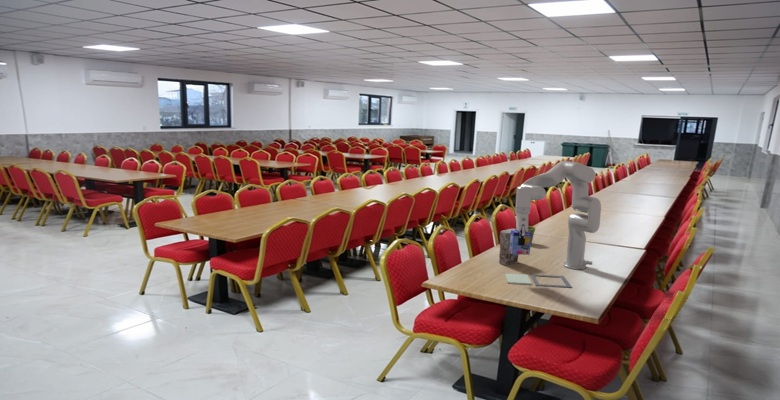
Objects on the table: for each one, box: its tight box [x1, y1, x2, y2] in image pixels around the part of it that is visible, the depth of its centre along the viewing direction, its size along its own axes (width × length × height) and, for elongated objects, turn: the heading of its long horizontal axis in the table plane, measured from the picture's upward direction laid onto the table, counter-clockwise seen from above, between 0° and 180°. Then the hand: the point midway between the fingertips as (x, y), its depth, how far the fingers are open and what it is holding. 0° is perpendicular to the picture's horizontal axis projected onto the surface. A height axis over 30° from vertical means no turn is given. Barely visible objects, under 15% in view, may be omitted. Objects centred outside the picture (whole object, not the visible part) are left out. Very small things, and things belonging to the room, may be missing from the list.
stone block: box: [498, 228, 519, 266], centre depth 282 cm, size 13×7×20 cm, turn 135°
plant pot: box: [528, 225, 537, 245], centre depth 330 cm, size 12×12×11 cm
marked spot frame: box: [529, 273, 573, 289], centre depth 253 cm, size 18×18×1 cm
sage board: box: [504, 273, 533, 286], centre depth 253 cm, size 12×14×1 cm
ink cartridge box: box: [509, 230, 532, 256], centre depth 250 cm, size 10×6×14 cm, turn 95°
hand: (520, 243), depth 250 cm, fingers closed on ink cartridge box, 6 cm apart
